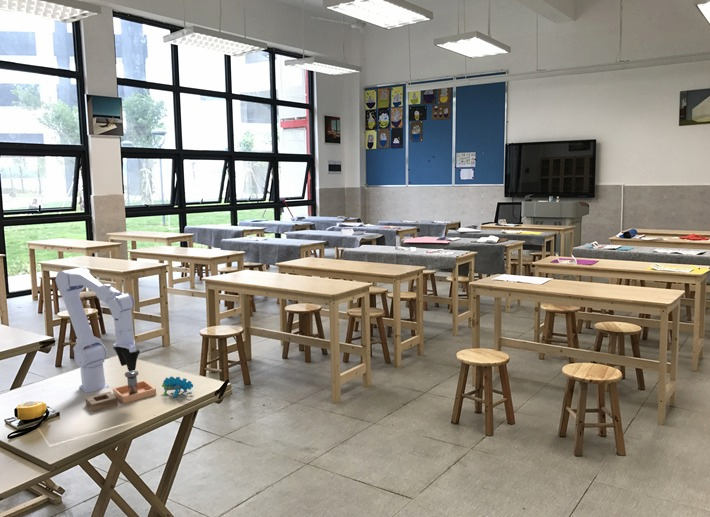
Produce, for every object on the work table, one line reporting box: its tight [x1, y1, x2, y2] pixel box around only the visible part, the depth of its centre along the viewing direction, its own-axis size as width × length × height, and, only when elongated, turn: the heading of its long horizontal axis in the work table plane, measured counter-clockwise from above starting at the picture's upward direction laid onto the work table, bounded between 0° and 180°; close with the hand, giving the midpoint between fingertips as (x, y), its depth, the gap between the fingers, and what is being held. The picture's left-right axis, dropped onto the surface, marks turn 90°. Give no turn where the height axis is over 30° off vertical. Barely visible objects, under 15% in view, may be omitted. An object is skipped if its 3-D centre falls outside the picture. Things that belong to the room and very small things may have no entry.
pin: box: [124, 370, 139, 395], centre depth 209 cm, size 4×4×8 cm
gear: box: [161, 376, 194, 398], centre depth 208 cm, size 11×6×10 cm
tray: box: [112, 380, 157, 404], centre depth 210 cm, size 11×11×2 cm
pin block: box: [84, 391, 119, 413], centre depth 202 cm, size 8×8×3 cm
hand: (128, 367), depth 208 cm, fingers open, 7 cm apart
